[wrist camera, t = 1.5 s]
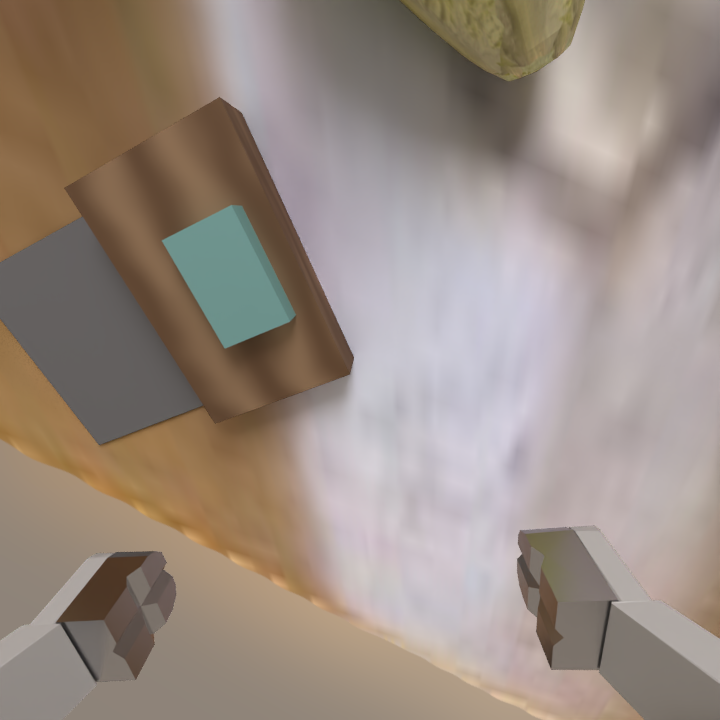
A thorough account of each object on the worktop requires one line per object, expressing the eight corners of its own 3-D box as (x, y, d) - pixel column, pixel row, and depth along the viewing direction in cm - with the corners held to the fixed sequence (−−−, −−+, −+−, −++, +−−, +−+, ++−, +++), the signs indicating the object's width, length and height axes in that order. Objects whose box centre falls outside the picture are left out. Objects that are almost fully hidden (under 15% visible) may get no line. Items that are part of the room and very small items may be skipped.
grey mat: (101, 207, 32) (98, 207, 31) (219, 398, 38) (217, 399, 38) (-28, 278, 35) (-31, 279, 35) (101, 443, 41) (99, 445, 41)
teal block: (242, 205, 27) (231, 205, 25) (296, 315, 30) (290, 321, 28) (176, 238, 28) (161, 240, 26) (234, 340, 31) (224, 348, 29)
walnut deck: (241, 112, 28) (219, 97, 25) (353, 357, 35) (349, 374, 31) (102, 191, 31) (64, 188, 27) (231, 403, 38) (215, 423, 34)
